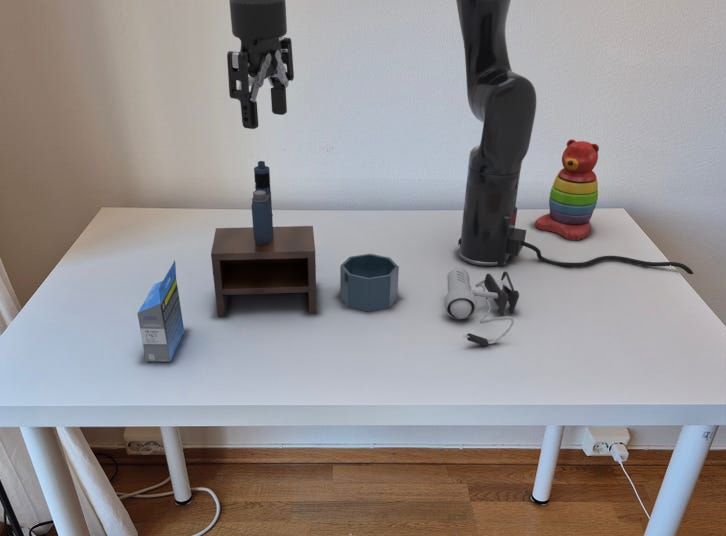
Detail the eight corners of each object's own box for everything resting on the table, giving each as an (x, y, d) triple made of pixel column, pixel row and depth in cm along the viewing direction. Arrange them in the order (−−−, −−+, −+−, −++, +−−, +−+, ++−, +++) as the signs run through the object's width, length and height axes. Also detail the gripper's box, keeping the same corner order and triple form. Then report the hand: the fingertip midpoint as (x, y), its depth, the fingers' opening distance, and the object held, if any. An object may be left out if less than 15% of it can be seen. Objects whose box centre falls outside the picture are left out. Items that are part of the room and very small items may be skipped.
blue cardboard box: (160, 331, 110) (149, 258, 103) (185, 331, 110) (175, 259, 103) (144, 362, 102) (131, 286, 96) (171, 363, 102) (159, 287, 96)
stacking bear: (530, 226, 146) (544, 140, 137) (557, 214, 152) (573, 131, 142) (575, 242, 140) (593, 153, 130) (602, 229, 146) (621, 143, 136)
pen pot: (402, 292, 122) (404, 260, 118) (383, 315, 115) (384, 282, 111) (355, 281, 125) (355, 250, 121) (333, 304, 118) (333, 271, 114)
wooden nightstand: (314, 285, 123) (312, 225, 117) (316, 313, 115) (315, 250, 109) (222, 288, 122) (215, 228, 116) (217, 317, 114) (210, 253, 107)
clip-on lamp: (519, 363, 108) (507, 288, 121) (531, 334, 104) (517, 258, 116) (444, 355, 108) (439, 280, 120) (452, 326, 103) (446, 251, 116)
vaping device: (275, 233, 114) (271, 159, 108) (268, 246, 110) (264, 170, 103) (259, 232, 114) (254, 159, 108) (252, 245, 110) (247, 170, 104)
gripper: (254, 5, 88) (263, 136, 97) (306, -7, 99) (310, 111, 108) (203, 2, 90) (217, 130, 99) (259, -10, 101) (267, 107, 110)
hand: (265, 120), depth 103 cm, fingers open, 8 cm apart
